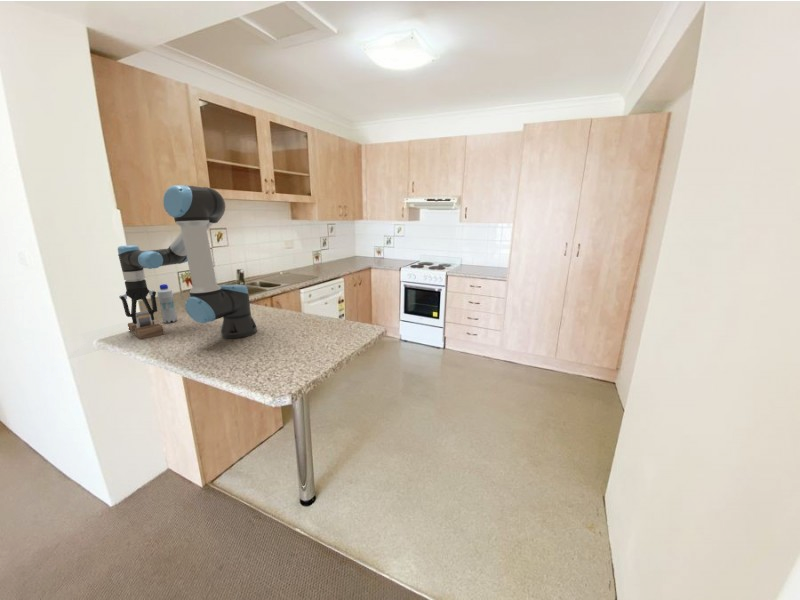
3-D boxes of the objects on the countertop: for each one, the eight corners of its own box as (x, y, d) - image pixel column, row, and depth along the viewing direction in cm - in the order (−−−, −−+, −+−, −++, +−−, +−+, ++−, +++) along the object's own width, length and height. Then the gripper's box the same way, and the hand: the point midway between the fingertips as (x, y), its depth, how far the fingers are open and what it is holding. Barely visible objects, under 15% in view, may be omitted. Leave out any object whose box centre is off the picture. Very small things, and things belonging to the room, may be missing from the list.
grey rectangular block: (152, 328, 154) (148, 312, 152) (141, 330, 151) (137, 314, 149) (149, 326, 157) (145, 310, 155) (138, 329, 154) (135, 312, 151)
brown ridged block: (164, 334, 152) (162, 326, 151) (140, 339, 145) (138, 331, 144) (151, 326, 163) (150, 318, 162) (129, 331, 156) (127, 323, 155)
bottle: (164, 320, 172) (156, 283, 167) (179, 319, 174) (172, 282, 169) (161, 324, 166) (153, 286, 161) (176, 322, 168) (169, 284, 163)
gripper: (154, 276, 156) (163, 322, 162) (108, 281, 143) (120, 331, 149) (160, 278, 152) (169, 325, 158) (112, 284, 139) (124, 335, 145)
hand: (145, 328), depth 154 cm, fingers closed on grey rectangular block, 4 cm apart
